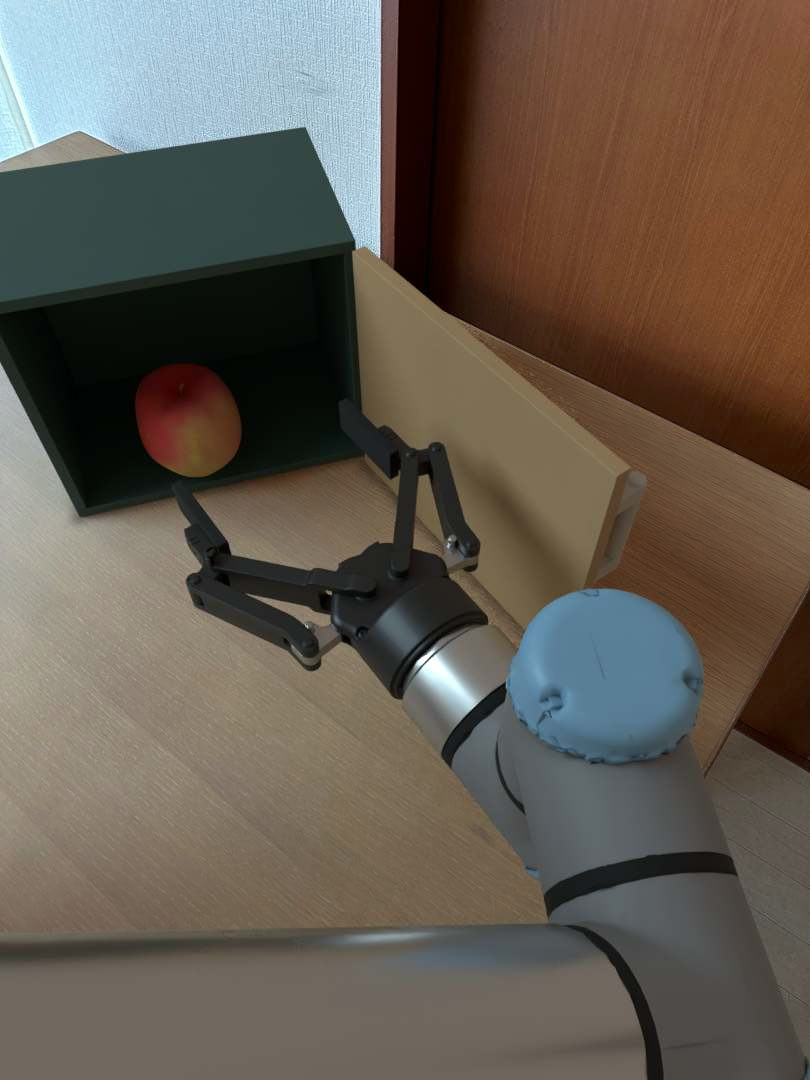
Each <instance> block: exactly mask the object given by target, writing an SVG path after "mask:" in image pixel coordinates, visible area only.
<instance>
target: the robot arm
mask: <svg viewBox="0 0 810 1080" xmlns="http://www.w3.org/2000/svg"><path fill="white" fill-rule="evenodd" d="M339 413H340V425H341V429H342V430H343V431H344V432H345V433H346V434H347V435H348V436H349V437H350V438H351V439H352V440H353V441H354V442H355V443H356V444H357V445H358V447H359V448H360V449H361V450H362V451H363V452H364V453H365V454H366V455H367V456H368V457H369V458H370V459H371V460H372V461H373V462H374V463H375V464H376V465H377V466H378V468H379V469H380V470H381V471H382V472H383V473H384V474H385V475H386V476H387V477H388V478H389V479H390V480H391V479H393V478H395V477H397V476H399V471H400V481H399V491H398V496H397V501H396V502H397V503H396V504H397V505H396V512H395V513H396V515H395V521H394V528H393V538H392V542H382V543H381V542H380V541H378V540H377V541H375V542H374V543H372V544H370V545H369V546H367V547H366V548H365V549H364V550H363V551H362V552H361V553H360V554H357V555H354V556H351V557H348V558H346V559H344V560H343V561H341V562H339V563H337V566H338V568H337V569H336V570H331V569H326V568H321V567H313V568H311V569H306V568H305V569H304V568H299V567H294V566H290V565H284V564H279V563H274V562H270V561H265V560H259V559H254V558H250V557H246V556H240V555H235V554H232V551H231V546H230V543H229V541H228V539H227V538H226V537H225V536H224V534H223V533H222V532H221V530H220V529H219V528H218V526H217V525H216V524H215V522H214V521H213V519H212V518H211V516H210V515H209V514H208V513H207V512H206V510H205V509H204V508H203V507H202V505H201V504H200V502H199V501H198V500H197V498H196V497H195V496H194V495H193V493H191V492H190V491H189V489H188V488H187V487H186V485H185V484H184V483H183V481H182V480H180V481H178V482H176V483H174V484H172V488H173V491H174V494H175V497H174V498H175V500H176V503H177V505H178V508H179V511H180V512H181V514H182V515H183V516H184V517H185V519H186V520H187V522H188V523H189V524H190V525H189V526H186V528H183V535H184V538H185V541H186V543H187V547H188V549H189V550H190V552H191V553H192V554H193V556H194V557H195V559H196V560H197V562H198V563H199V564H200V566H201V568H200V569H199V570H198V571H197V572H192V573H190V574H189V575H188V576H186V578H185V585H186V587H187V590H188V593H189V596H190V599H191V601H192V604H193V606H194V607H195V608H196V609H198V610H200V611H203V612H204V613H207V614H208V615H210V616H212V617H215V618H217V619H219V620H221V621H223V622H225V623H227V624H229V625H231V626H234V627H236V628H239V629H240V630H242V631H244V632H246V633H249V634H251V635H253V636H255V637H257V638H259V639H261V640H263V641H265V642H268V643H270V644H272V645H274V646H276V647H278V648H280V649H282V650H284V651H287V652H288V654H290V655H291V657H292V658H293V659H294V660H295V661H297V663H298V664H299V665H300V666H301V667H302V668H303V669H304V670H306V672H307V671H308V672H316V671H317V670H319V669H320V668H321V666H322V663H323V662H322V657H324V656H325V655H326V654H327V653H329V652H330V651H332V650H333V649H334V648H335V647H337V646H338V645H339V644H340V643H343V644H345V645H347V646H349V647H351V648H353V649H354V650H355V651H356V652H357V654H358V656H359V657H360V658H361V659H362V660H363V662H364V663H365V664H366V665H367V667H368V668H369V669H370V671H371V672H372V673H373V674H374V676H375V677H376V678H377V679H378V681H379V682H380V683H381V685H382V686H383V687H384V688H385V689H386V691H387V692H388V693H389V694H390V695H391V697H392V698H393V699H394V700H395V699H396V700H399V701H401V706H402V707H401V708H402V710H403V712H404V713H405V714H406V715H407V717H408V718H409V719H410V720H411V722H412V723H413V724H414V726H415V727H416V728H417V729H418V730H419V732H420V733H421V735H422V736H423V737H424V738H425V740H426V741H427V742H428V743H429V745H430V746H431V747H432V749H433V750H434V751H435V752H436V754H437V755H438V756H439V757H440V758H441V760H442V761H444V763H445V764H446V765H447V767H448V768H449V769H450V770H451V772H452V773H453V774H454V775H455V777H456V778H457V779H458V780H459V782H460V783H461V784H462V786H463V787H464V788H465V789H466V791H467V792H468V793H469V794H470V796H471V797H472V798H473V800H474V801H475V802H476V804H477V805H478V806H479V807H480V809H481V810H482V811H483V813H484V814H485V815H486V817H488V819H489V820H490V822H491V823H492V824H493V825H494V827H495V828H496V829H497V830H498V832H499V833H500V834H501V835H502V837H503V838H504V840H505V841H506V842H507V843H508V845H509V846H510V847H511V849H512V850H513V852H515V854H516V855H517V856H518V857H519V859H520V860H521V862H522V863H523V867H524V870H525V872H526V873H527V874H528V875H529V876H530V877H533V878H534V879H535V880H536V881H537V882H538V883H539V884H540V885H541V890H542V895H543V902H544V908H545V911H546V916H547V921H548V923H496V924H495V923H494V924H493V923H491V924H442V925H441V924H440V925H439V924H437V925H435V924H434V925H433V924H431V925H382V926H379V925H378V926H321V927H320V926H319V927H318V926H317V927H316V926H315V927H261V928H258V927H257V928H209V929H208V928H205V929H204V928H203V929H202V928H201V929H150V930H149V929H146V930H145V929H144V930H142V929H141V930H94V931H93V930H91V931H89V930H88V931H84V930H83V931H37V932H34V931H33V932H31V931H30V932H27V931H26V932H25V931H24V932H0V1080H810V1061H809V1059H808V1057H807V1056H806V1055H805V1054H804V1051H803V1049H802V1046H801V1043H800V1040H799V1037H798V1035H797V1033H796V1032H797V1031H796V1029H795V1027H794V1024H793V1021H792V1018H791V1016H790V1013H789V1010H788V1007H787V1005H786V1002H785V999H784V997H783V994H782V992H781V989H780V985H779V983H778V981H777V978H776V975H775V973H774V969H773V967H772V964H771V961H770V959H769V956H768V954H767V951H766V948H765V945H764V942H763V940H762V937H761V934H760V932H759V929H758V927H757V923H756V920H755V918H754V915H753V913H752V910H751V908H750V905H749V902H748V899H747V897H746V894H745V891H744V888H743V886H742V883H741V880H740V878H739V874H738V871H737V867H736V865H735V862H734V861H735V860H734V859H733V856H732V854H731V850H730V848H729V844H728V842H727V838H726V836H725V832H724V829H723V827H722V824H721V821H720V819H719V815H718V813H717V810H716V807H715V803H714V802H713V799H712V796H711V792H710V790H709V787H708V784H707V781H706V779H705V776H704V772H703V771H702V768H701V764H700V761H699V759H698V756H697V753H696V750H695V748H694V745H693V742H692V739H691V736H690V735H691V733H692V730H693V729H694V727H696V725H697V724H696V720H697V718H698V714H699V711H700V708H701V700H702V698H703V695H704V684H705V679H706V678H705V669H704V663H703V659H702V655H701V654H700V651H699V648H698V646H697V644H696V642H695V641H694V640H695V639H694V638H693V637H692V635H691V634H690V633H689V631H688V630H687V628H686V627H685V626H684V625H683V624H682V622H681V621H680V620H678V618H676V617H675V616H674V615H673V614H672V613H671V612H670V611H668V610H667V609H665V608H664V607H663V606H661V605H659V604H658V603H656V602H655V601H653V600H650V599H649V598H647V597H644V596H642V595H639V594H637V593H633V592H630V591H626V590H622V589H616V588H593V589H586V590H582V591H576V592H572V593H569V594H566V595H564V596H562V597H560V598H558V599H556V600H554V601H552V602H551V603H549V604H548V605H547V606H545V607H544V608H543V609H542V610H541V611H540V612H539V613H538V614H537V615H536V616H535V618H534V619H533V620H532V621H531V622H530V624H529V626H528V627H527V629H526V631H525V630H524V633H523V635H522V638H521V641H520V645H519V647H517V646H516V645H515V643H513V641H512V640H511V639H510V638H509V637H508V636H507V634H506V633H505V632H504V631H503V630H502V629H501V628H500V627H499V626H497V625H496V624H489V617H488V615H487V613H486V612H485V611H484V610H483V609H482V608H481V607H480V606H479V604H477V603H476V601H475V600H474V599H473V598H472V597H471V596H470V595H469V594H468V593H467V592H466V591H465V590H464V589H463V587H462V586H461V585H460V584H459V583H458V582H457V581H455V580H454V579H452V578H451V576H450V575H452V574H454V573H456V572H458V571H461V570H462V571H463V572H466V573H470V572H473V571H475V570H476V569H477V567H478V561H479V554H480V546H481V542H480V540H479V539H478V538H477V536H476V535H475V534H474V533H473V531H472V530H471V529H470V527H469V526H468V525H467V524H466V522H465V519H464V515H463V511H462V508H461V504H460V500H459V497H458V493H457V489H456V486H455V482H454V478H453V475H452V471H451V468H450V464H449V460H448V457H447V453H446V449H445V446H444V445H443V444H442V443H440V442H433V443H431V444H429V446H428V448H426V449H422V450H417V449H415V448H412V447H409V446H408V445H407V444H406V443H405V442H404V441H403V440H402V439H401V438H400V437H399V436H398V435H397V434H396V433H395V432H394V431H393V430H392V429H391V428H390V427H388V426H386V425H383V426H381V427H379V428H376V427H375V426H374V425H373V424H372V423H371V422H370V421H369V420H368V419H367V418H366V417H365V416H364V414H363V413H362V412H361V411H360V410H359V409H358V408H357V407H356V406H355V405H354V404H353V403H352V402H351V401H350V400H349V399H348V398H346V399H344V400H342V401H340V402H339ZM427 474H428V476H429V480H430V484H431V488H432V492H433V496H434V500H435V504H436V508H437V512H438V516H439V520H440V524H441V528H442V532H443V536H444V540H445V541H444V542H443V543H442V555H441V556H440V555H438V554H435V553H432V552H429V551H425V550H421V549H418V548H414V542H415V528H416V517H417V516H416V504H417V492H418V483H419V476H422V475H427ZM327 592H331V594H329V593H327ZM253 596H255V597H253ZM256 597H258V598H259V597H260V598H265V599H269V600H274V601H279V602H283V603H289V604H294V605H298V606H303V607H307V608H309V609H310V610H311V611H313V612H314V613H318V614H322V615H326V616H329V618H330V619H329V620H330V621H329V622H330V624H328V625H324V626H321V625H318V624H316V623H315V622H313V621H311V620H307V621H305V622H304V623H303V622H302V621H301V620H299V619H298V618H296V617H295V616H293V615H291V614H290V613H288V612H287V611H283V610H282V609H279V608H278V607H275V606H273V605H270V604H268V603H266V602H265V601H262V600H260V599H257V598H256Z"/></svg>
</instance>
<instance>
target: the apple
mask: <svg viewBox="0 0 810 1080" xmlns="http://www.w3.org/2000/svg"><path fill="white" fill-rule="evenodd" d="M135 410H136V418H137V424H138V429H139V433H140V437H141V440H142V442H143V445H144V447H145V449H146V450H147V452H148V453H149V455H150V456H151V457H152V458H153V459H154V460H155V461H156V462H158V463H159V464H161V465H162V466H164V467H166V468H168V469H169V470H171V471H173V472H176V473H178V474H181V475H184V476H188V477H204V476H208V475H210V474H212V473H214V472H216V471H218V470H219V469H221V468H222V467H224V466H225V465H226V464H227V463H228V462H229V461H230V460H231V459H232V458H233V457H234V456H235V454H236V452H237V450H238V448H239V445H240V441H241V419H240V414H239V410H238V407H237V404H236V402H235V399H234V397H233V395H232V393H231V392H230V390H229V388H228V387H227V385H226V384H225V383H224V381H223V380H222V379H221V378H220V377H219V376H218V375H217V374H216V373H215V372H213V371H212V370H211V369H209V368H207V367H204V366H200V365H195V364H187V363H174V364H169V365H166V366H163V367H160V368H158V369H156V370H154V371H152V372H151V373H149V374H148V375H147V376H146V377H145V378H144V379H143V380H142V381H141V383H140V385H139V387H138V390H137V393H136V399H135Z"/></svg>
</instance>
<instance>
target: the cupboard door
mask: <svg viewBox="0 0 810 1080" xmlns="http://www.w3.org/2000/svg"><path fill="white" fill-rule="evenodd" d="M352 256H353V272H354V288H355V304H356V319H357V335H358V351H359V367H360V383H361V398H362V413H363V414H364V416H365V417H366V418H367V419H368V420H369V421H370V422H371V423H372V424H373V425H374V426H375V427H376V428H379V427H381V426H383V425H386V426H388V427H390V428H391V429H392V430H393V431H394V432H395V433H396V434H397V435H398V436H399V437H400V438H401V439H402V440H403V441H404V442H405V443H406V444H407V445H408V446H409V447H412V448H415V449H417V450H422V449H426V448H428V446H429V444H431V443H433V442H440V443H442V444H443V445H444V446H445V449H446V453H447V457H448V460H449V464H450V468H451V471H452V475H453V478H454V482H455V486H456V489H457V493H458V497H459V500H460V504H461V508H462V511H463V515H464V519H465V522H466V524H467V525H468V526H469V527H470V529H471V530H472V531H473V533H474V534H475V535H476V536H477V538H478V539H479V540H480V542H481V546H480V554H479V561H478V567H477V569H476V570H475V571H473V572H469V573H470V574H471V575H472V576H473V577H474V579H476V581H477V582H478V583H479V584H480V585H481V586H482V587H483V588H484V589H485V590H486V591H487V593H489V594H490V595H491V597H493V598H494V600H495V601H497V603H498V604H499V605H500V606H501V607H502V608H503V610H505V611H506V612H507V613H508V614H509V615H510V616H511V617H512V619H513V620H514V621H515V622H516V623H517V624H518V625H519V627H521V628H522V629H523V630H524V632H525V631H526V629H527V627H528V626H529V624H530V622H531V621H532V620H533V619H534V618H535V616H536V615H537V614H538V613H539V612H540V611H541V610H542V609H543V608H544V607H545V606H547V605H548V604H549V603H551V602H552V601H554V600H556V599H558V598H560V597H562V596H564V595H566V594H569V593H572V592H576V591H582V590H586V589H594V585H595V583H597V582H599V580H601V579H602V578H604V577H605V576H607V575H608V574H609V573H611V572H612V571H614V570H616V569H617V568H618V567H619V564H620V562H621V559H622V556H623V553H624V550H625V547H626V545H627V541H628V538H629V535H630V533H631V531H632V527H633V524H634V521H635V519H636V516H637V513H638V510H639V507H640V505H641V501H642V499H643V497H644V493H645V491H646V488H647V485H648V478H647V477H646V476H645V474H644V473H642V472H640V471H637V470H635V471H634V470H633V471H632V467H631V466H630V465H629V464H628V463H626V462H625V461H624V460H623V459H622V458H621V457H620V456H618V455H617V454H616V453H615V452H613V451H612V449H609V447H607V446H606V445H605V444H604V443H602V442H601V440H599V439H598V438H597V437H595V435H593V434H592V433H591V432H590V431H588V430H587V429H586V428H585V427H583V426H582V425H581V424H580V423H579V422H577V421H576V420H575V419H574V418H572V417H571V416H570V415H569V414H568V413H566V412H565V411H564V410H563V409H562V408H560V407H559V406H558V405H557V404H556V403H555V402H553V401H552V400H550V399H549V397H547V396H546V395H545V394H544V393H543V392H542V391H540V390H539V389H538V388H536V387H535V386H534V385H533V384H531V382H529V381H528V380H527V379H526V378H524V377H523V376H522V375H521V374H520V373H519V372H518V371H516V370H515V369H514V368H513V367H511V366H510V365H509V364H508V363H506V361H504V360H503V359H501V358H500V357H499V356H498V355H496V353H494V351H492V350H491V349H490V348H489V347H487V345H485V344H484V343H482V342H481V341H480V340H479V339H478V338H476V337H475V336H474V335H473V334H471V332H469V331H468V330H466V329H465V328H464V327H463V326H462V325H460V324H459V322H457V321H456V320H454V319H453V317H451V316H450V315H449V314H447V313H446V312H445V311H444V310H442V308H440V307H439V306H438V305H436V304H435V302H433V301H432V300H430V298H428V297H427V296H426V295H425V294H423V293H422V292H421V290H419V289H417V288H416V287H415V286H414V285H412V283H411V282H409V281H407V280H406V278H404V277H403V276H402V275H400V274H399V273H398V272H397V271H396V270H395V269H393V268H392V267H391V266H390V265H389V264H387V262H385V261H384V260H382V259H381V258H380V257H379V256H378V255H377V254H376V253H374V252H373V251H372V250H371V249H369V248H368V247H367V246H366V245H364V246H361V247H359V248H356V250H354V251H352ZM364 459H365V460H364V461H365V464H366V465H367V466H368V467H369V468H370V469H371V470H372V471H373V472H374V473H375V474H376V475H377V476H378V478H380V479H381V481H382V482H383V483H385V485H386V486H387V487H388V488H389V489H390V490H391V491H392V492H393V493H394V495H396V496H397V497H398V491H399V481H400V471H399V476H397V477H395V478H393V479H391V480H390V479H389V478H388V477H387V476H386V475H385V474H384V473H383V472H382V471H381V470H380V469H379V468H378V466H377V465H376V464H375V463H374V462H373V461H372V460H371V459H370V458H369V457H368V456H367V455H366V454H365V455H364ZM416 517H417V518H418V519H419V521H421V523H423V525H424V526H425V527H426V528H427V529H428V530H429V531H430V532H431V533H432V534H433V535H434V537H436V538H437V539H438V541H440V543H441V544H443V542H444V541H445V540H444V536H443V532H442V528H441V524H440V520H439V516H438V512H437V508H436V504H435V500H434V496H433V492H432V488H431V484H430V480H429V476H428V474H427V475H422V476H419V483H418V492H417V504H416Z"/></svg>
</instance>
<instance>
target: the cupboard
mask: <svg viewBox="0 0 810 1080" xmlns="http://www.w3.org/2000/svg"><path fill="white" fill-rule="evenodd" d="M343 211H344V210H343V209H342V206H341V205H340V202H339V200H338V198H337V196H336V193H335V191H334V189H333V187H332V184H331V182H330V179H329V177H328V174H327V173H326V170H325V168H324V166H323V164H322V161H321V159H320V157H319V154H318V152H317V150H316V148H315V145H314V143H313V140H312V139H311V136H310V133H309V132H308V129H307V127H306V126H302V127H296V128H289V129H288V128H287V129H281V130H275V131H268V132H262V133H256V134H248V135H243V136H235V137H228V138H222V139H221V138H220V139H214V140H207V141H202V142H194V143H188V144H187V143H186V144H181V145H180V144H179V145H173V146H167V147H162V148H161V147H160V148H153V149H148V150H139V151H134V152H133V151H132V152H127V153H126V152H125V153H119V154H114V155H107V156H100V157H94V158H87V159H79V160H73V161H67V162H59V163H54V164H46V165H38V166H33V167H27V168H25V167H24V168H19V169H12V170H6V171H0V366H1V367H2V369H3V371H4V373H5V375H6V377H7V379H8V381H9V382H10V385H11V387H12V388H13V390H14V392H15V395H16V397H17V398H18V400H19V402H20V404H21V407H23V410H24V413H25V414H26V416H27V418H28V419H29V421H30V422H29V423H30V424H31V425H32V428H33V429H34V431H35V433H36V436H37V437H38V439H39V441H40V444H41V445H42V447H43V449H44V451H45V452H46V454H47V457H48V458H49V460H50V462H51V464H52V466H53V468H54V470H55V472H56V474H57V476H58V478H59V480H60V482H61V484H62V486H63V488H64V490H65V492H66V493H67V496H68V498H69V500H70V501H71V503H72V505H73V507H74V509H75V511H76V513H77V515H78V517H79V518H83V517H87V516H91V515H96V514H100V513H106V512H110V511H114V510H115V511H116V510H120V509H124V508H127V507H133V506H138V505H141V504H142V505H143V504H146V503H147V504H148V503H151V502H156V501H160V500H165V499H166V500H167V499H171V498H176V497H175V494H174V491H173V488H172V484H174V483H176V482H178V481H180V480H182V481H183V483H184V484H185V485H186V487H187V488H188V489H189V491H190V492H191V493H192V494H193V493H198V492H201V491H202V492H203V491H206V490H213V489H215V488H220V487H226V486H229V485H234V484H239V483H243V482H248V481H252V480H257V479H261V478H266V477H271V476H275V475H281V474H284V473H289V472H293V471H298V470H302V469H303V470H304V469H309V468H313V467H317V466H322V465H325V464H331V463H335V462H340V461H344V460H345V461H346V460H349V459H353V458H358V457H362V456H363V457H364V456H365V453H364V452H363V451H362V450H361V449H360V448H359V447H358V445H357V444H356V443H355V442H354V441H353V440H352V439H351V438H350V437H349V436H348V435H347V434H346V433H345V432H344V431H343V430H342V429H341V425H340V413H339V402H340V401H342V400H344V399H346V398H348V399H349V400H350V401H351V402H352V403H353V404H354V405H355V406H356V407H357V408H358V409H359V410H360V411H361V412H362V398H361V383H360V367H359V351H358V335H357V319H356V304H355V288H354V272H353V256H352V251H354V250H357V246H356V245H357V244H356V239H355V236H354V234H353V232H352V230H351V228H350V225H349V222H348V221H347V218H346V216H345V214H344V212H343ZM174 363H187V364H195V365H200V366H204V367H207V368H209V369H211V370H212V371H213V372H215V373H216V374H217V375H218V376H219V377H220V378H221V379H222V380H223V381H224V383H225V384H226V385H227V387H228V388H229V390H230V392H231V393H232V395H233V397H234V399H235V402H236V404H237V407H238V410H239V414H240V419H241V441H240V445H239V448H238V450H237V452H236V454H235V456H234V457H233V458H232V459H231V460H230V461H229V462H228V463H227V464H226V465H225V466H224V467H222V468H221V469H219V470H218V471H216V472H214V473H212V474H210V475H208V476H204V477H188V476H184V475H181V474H178V473H176V472H173V471H171V470H169V469H168V468H166V467H164V466H162V465H161V464H159V463H158V462H156V461H155V460H154V459H153V458H152V457H151V456H150V455H149V453H148V452H147V450H146V449H145V447H144V445H143V442H142V440H141V437H140V433H139V429H138V424H137V418H136V410H135V399H136V393H137V390H138V387H139V385H140V383H141V381H142V380H143V379H144V378H145V377H146V376H147V375H148V374H149V373H151V372H152V371H154V370H156V369H158V368H160V367H163V366H166V365H169V364H174Z"/></svg>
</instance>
